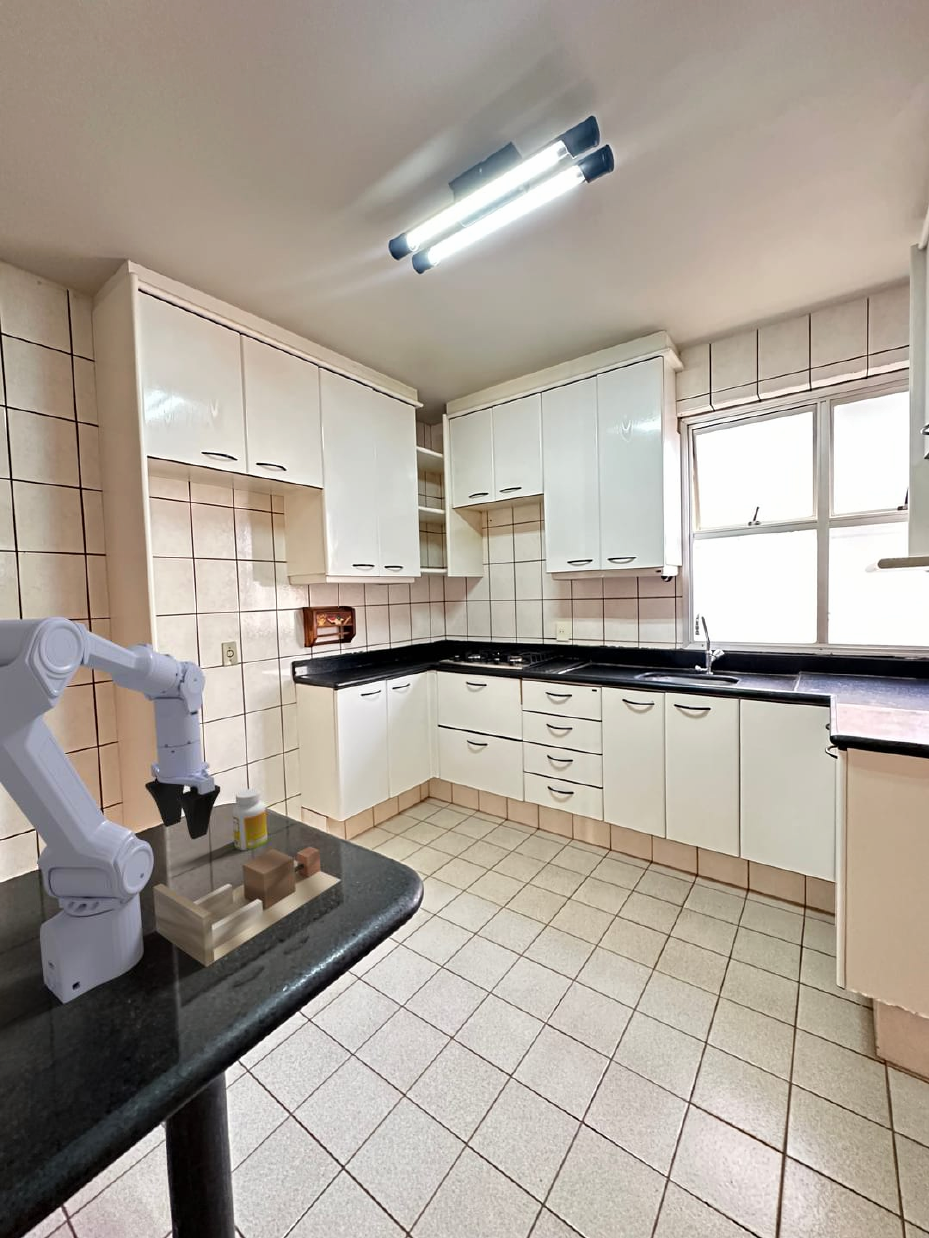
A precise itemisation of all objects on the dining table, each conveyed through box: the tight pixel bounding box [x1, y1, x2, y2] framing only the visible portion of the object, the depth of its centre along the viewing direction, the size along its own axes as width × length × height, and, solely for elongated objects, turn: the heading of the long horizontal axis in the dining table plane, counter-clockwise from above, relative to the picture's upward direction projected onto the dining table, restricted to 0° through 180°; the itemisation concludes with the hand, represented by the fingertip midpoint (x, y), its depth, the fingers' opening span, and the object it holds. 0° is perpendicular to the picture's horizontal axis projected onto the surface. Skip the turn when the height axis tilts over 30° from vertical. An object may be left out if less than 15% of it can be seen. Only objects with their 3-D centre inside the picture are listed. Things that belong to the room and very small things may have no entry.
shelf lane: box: [152, 859, 342, 967], centre depth 74 cm, size 21×12×7 cm, turn 146°
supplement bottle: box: [232, 788, 268, 851], centre depth 92 cm, size 5×5×10 cm
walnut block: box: [241, 846, 321, 909], centre depth 78 cm, size 11×5×5 cm, turn 146°
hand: (185, 830), depth 78 cm, fingers open, 7 cm apart
